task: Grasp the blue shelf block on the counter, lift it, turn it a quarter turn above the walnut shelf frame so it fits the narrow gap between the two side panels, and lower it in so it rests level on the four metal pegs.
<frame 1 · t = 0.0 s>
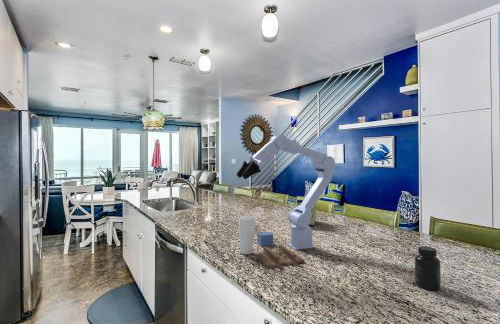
hand: (240, 176, 112), 32 cm above the countertop, tool tilted 50°, fingers open, 7 cm apart
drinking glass: (246, 253, 113), on the countertop
shelf frame: (279, 259, 106), on the countertop
protein box: (306, 223, 164), on the countertop
supplement bottle: (427, 286, 85), on the countertop
shelf block: (265, 244, 125), on the countertop
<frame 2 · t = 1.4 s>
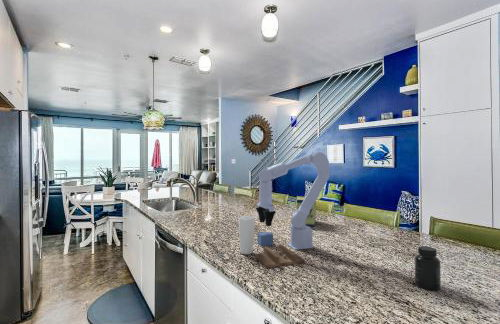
hand: (265, 224, 125), 9 cm above the countertop, tool pointing down, fingers open, 7 cm apart
nothing on the countertop moved.
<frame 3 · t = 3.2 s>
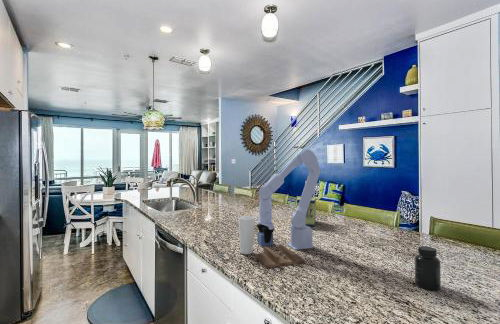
hand: (265, 241, 125), 1 cm above the countertop, tool pointing down, fingers closed on shelf block, 4 cm apart
shelf block: (265, 244, 125), on the countertop, touching gripper
everything else where it was.
when the fingers open (4 cm above the countertop, at t = 8.0 s): shelf block stays where it is, resting on shelf frame.
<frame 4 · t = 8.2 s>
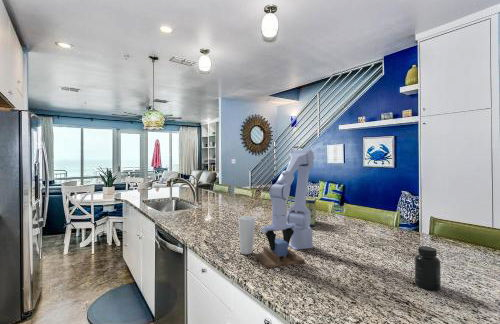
hand: (279, 248, 106), 4 cm above the countertop, tool pointing down, fingers open, 6 cm apart
shelf block: (278, 253, 106), point 2 cm above the countertop, touching shelf frame
everything else where it was.
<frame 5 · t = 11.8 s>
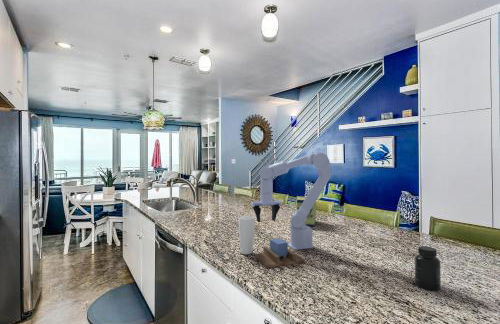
hand: (266, 221, 126), 10 cm above the countertop, tool pointing down, fingers open, 7 cm apart
nothing on the countertop moved.
at the end: shelf block 0.3 cm off-centre on the shelf frame, point 2.2 cm above the shelf frame's base; shelf block tilted 0°; the gripper is holding nothing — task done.
